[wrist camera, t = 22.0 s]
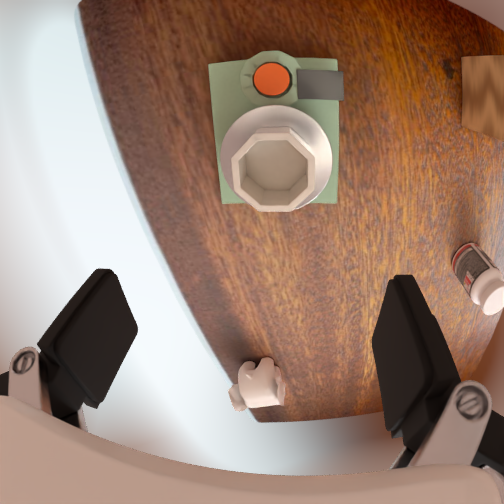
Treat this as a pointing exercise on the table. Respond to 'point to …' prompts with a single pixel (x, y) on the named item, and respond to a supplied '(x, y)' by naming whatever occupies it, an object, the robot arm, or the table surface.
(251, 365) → the elephant figurine
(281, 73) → the tare button
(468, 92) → the stand
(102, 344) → the robot arm
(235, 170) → the bowl
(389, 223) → the table surface
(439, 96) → the table surface
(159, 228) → the table surface
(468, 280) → the pill bottle
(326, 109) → the scale
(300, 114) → the scale pan
